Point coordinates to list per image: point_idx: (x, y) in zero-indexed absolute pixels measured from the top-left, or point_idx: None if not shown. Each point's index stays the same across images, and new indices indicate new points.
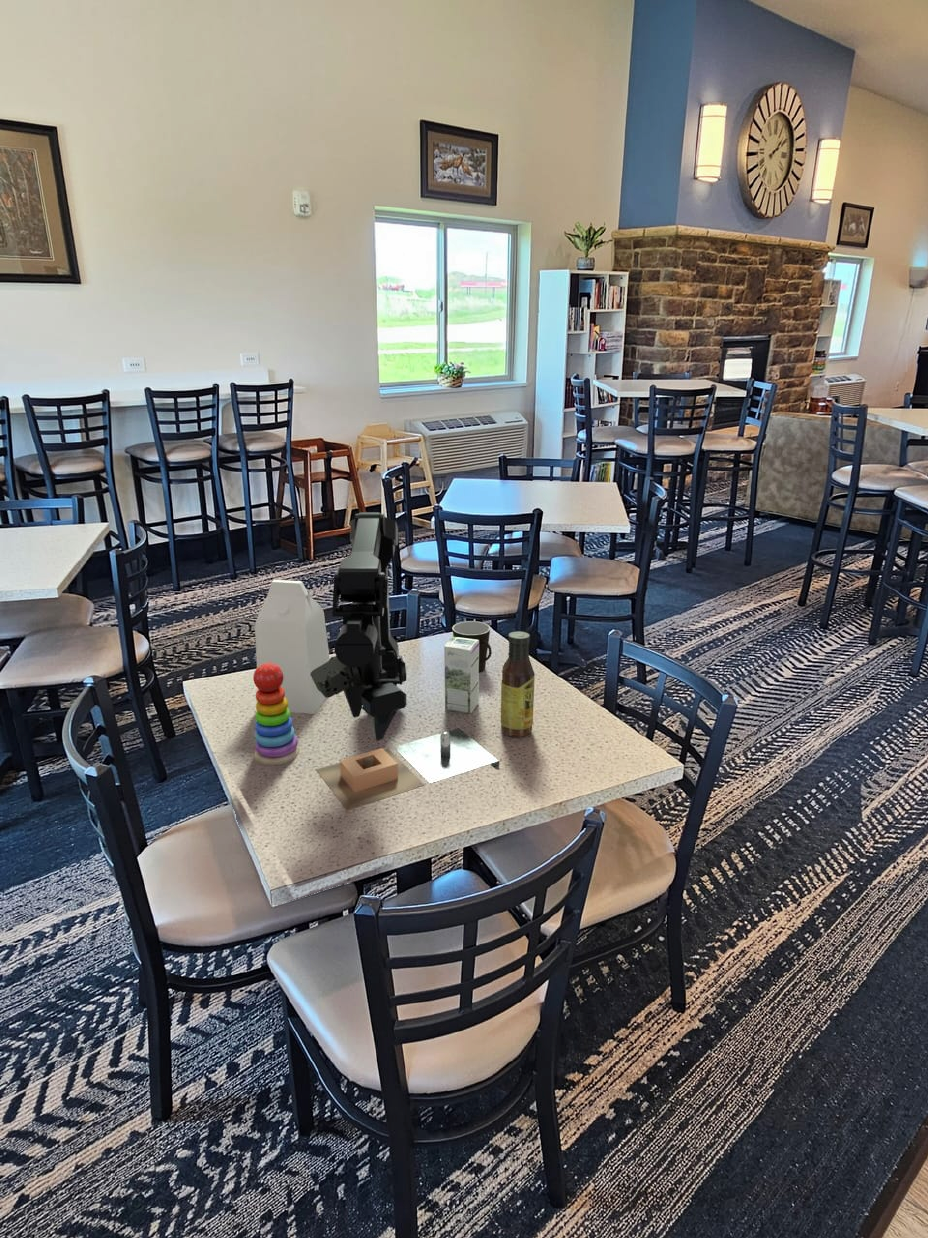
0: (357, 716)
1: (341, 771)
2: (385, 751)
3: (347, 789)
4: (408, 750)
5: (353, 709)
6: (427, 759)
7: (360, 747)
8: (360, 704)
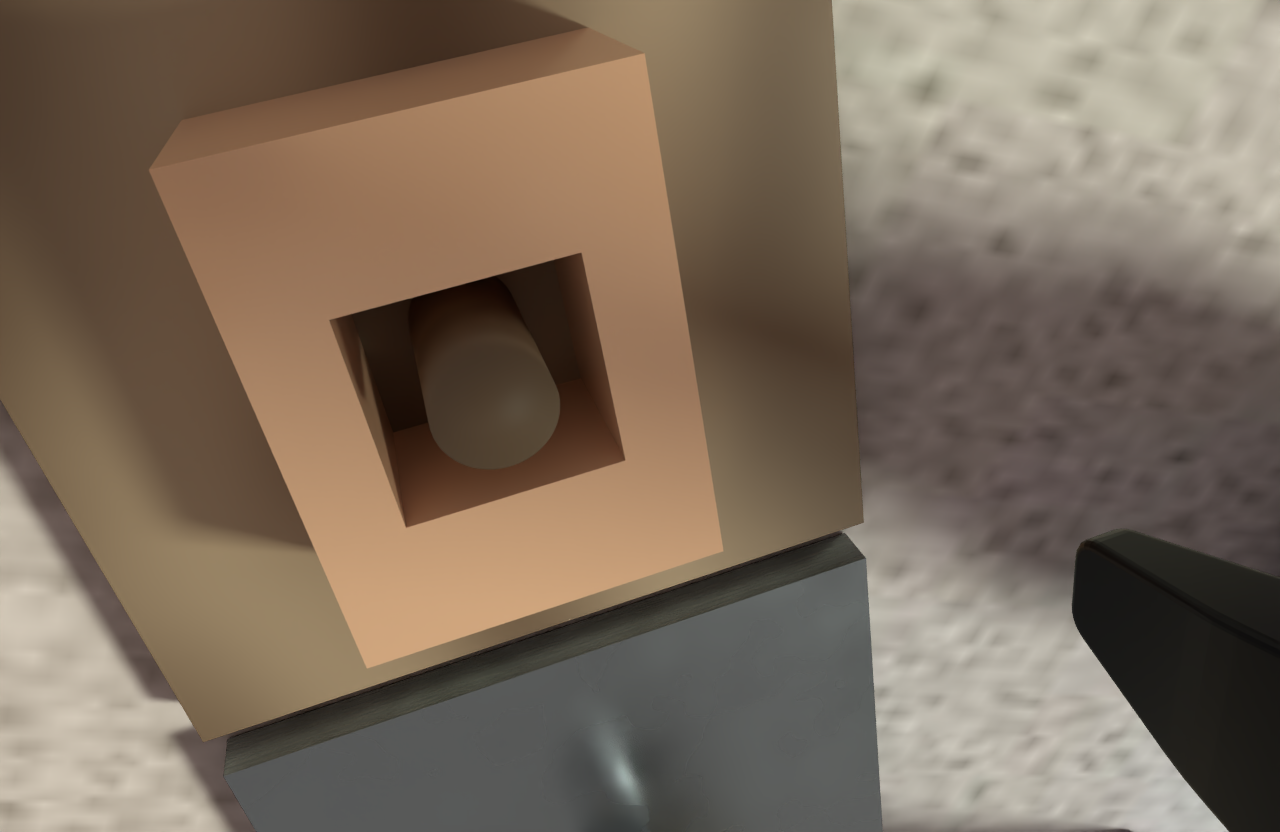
0: (1077, 598)
1: (571, 43)
2: (647, 574)
3: (266, 48)
4: (768, 654)
5: (1218, 660)
6: (591, 765)
7: (1029, 297)
8: (1263, 829)
